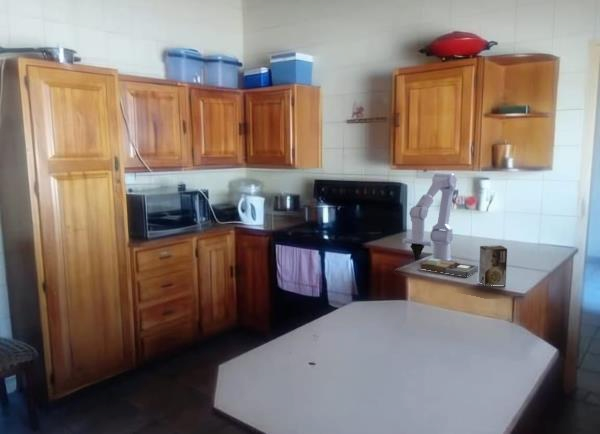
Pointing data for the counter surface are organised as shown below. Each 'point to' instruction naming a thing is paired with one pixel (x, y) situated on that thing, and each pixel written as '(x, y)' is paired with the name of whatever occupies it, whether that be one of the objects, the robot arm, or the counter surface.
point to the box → (463, 273)
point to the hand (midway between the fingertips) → (417, 259)
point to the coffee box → (492, 265)
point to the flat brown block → (440, 266)
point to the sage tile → (433, 261)
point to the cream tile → (463, 268)
